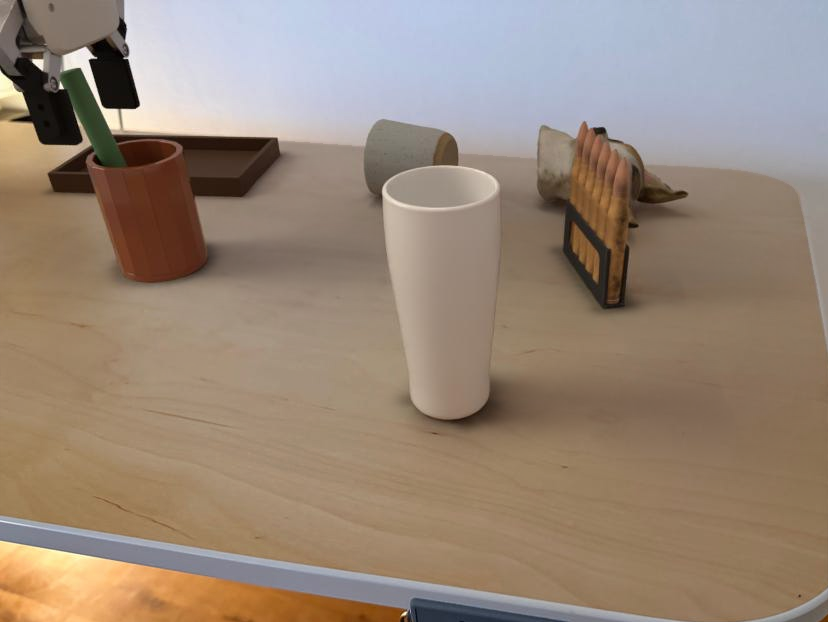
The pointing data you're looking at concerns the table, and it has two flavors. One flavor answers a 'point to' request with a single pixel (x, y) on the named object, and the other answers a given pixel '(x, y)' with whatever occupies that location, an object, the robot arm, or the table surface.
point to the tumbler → (150, 211)
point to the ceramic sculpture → (559, 161)
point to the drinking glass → (445, 282)
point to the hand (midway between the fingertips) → (93, 124)
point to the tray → (190, 163)
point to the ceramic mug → (404, 151)
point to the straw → (92, 118)
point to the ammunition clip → (598, 218)
